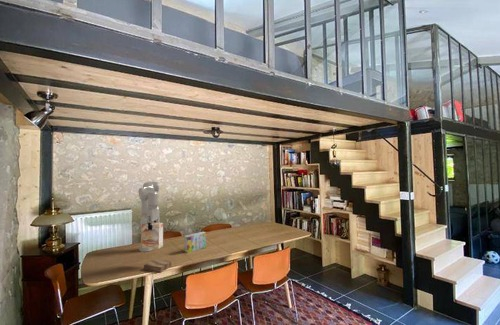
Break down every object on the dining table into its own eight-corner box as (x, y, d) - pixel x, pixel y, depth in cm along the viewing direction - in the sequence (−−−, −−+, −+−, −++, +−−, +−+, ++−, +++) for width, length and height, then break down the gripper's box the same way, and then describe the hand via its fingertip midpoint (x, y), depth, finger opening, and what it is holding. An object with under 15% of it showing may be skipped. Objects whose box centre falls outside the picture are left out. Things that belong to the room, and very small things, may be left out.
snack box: (203, 246, 240) (203, 231, 240) (206, 247, 236) (206, 232, 236) (184, 251, 225) (184, 235, 225) (187, 253, 221) (187, 236, 221)
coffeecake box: (141, 248, 193) (141, 223, 194) (146, 245, 200) (146, 222, 201) (158, 249, 191) (158, 224, 192) (163, 246, 198) (163, 222, 199)
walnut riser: (154, 264, 197) (155, 259, 197) (170, 267, 191) (171, 261, 192) (143, 270, 186) (144, 264, 186) (160, 273, 180) (160, 267, 180)
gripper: (154, 205, 206) (154, 226, 205) (142, 208, 189) (142, 231, 188) (162, 205, 205) (162, 226, 204) (151, 208, 188) (151, 231, 187)
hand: (152, 228), depth 196 cm, fingers closed on coffeecake box, 7 cm apart
